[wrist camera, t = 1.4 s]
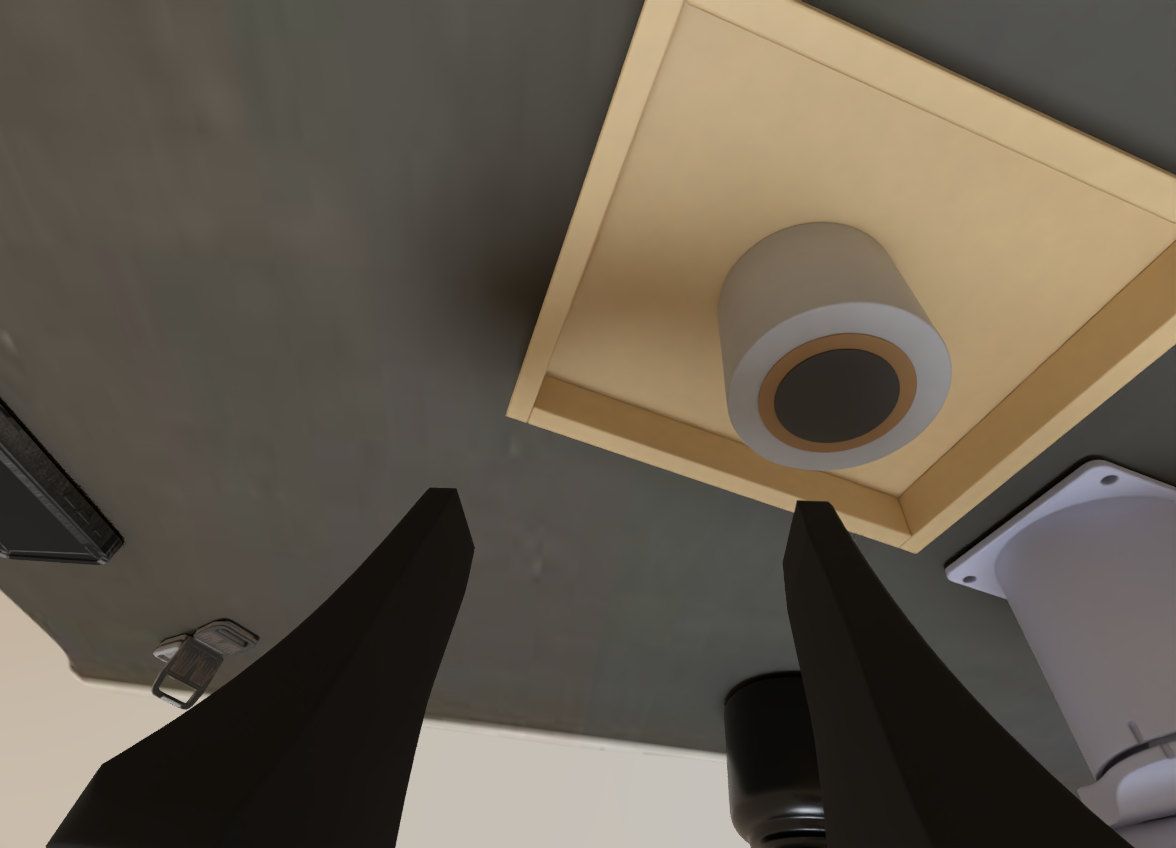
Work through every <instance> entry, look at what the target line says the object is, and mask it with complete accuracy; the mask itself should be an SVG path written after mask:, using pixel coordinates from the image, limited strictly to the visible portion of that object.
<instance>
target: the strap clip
mask: <svg viewBox="0 0 1176 848" xmlns="http://www.w3.org/2000/svg"><path fill="white" fill-rule="evenodd" d="M234 634H235V635H234ZM239 637H240V638H239ZM244 640H245V641H244ZM256 644H257V640H256V639H254V638H253V637H251V636H249V635H248V634H246V633H244V632H243V631H241V630H239V629H238V628H236V627H234V626H233V625H231V624H229V623H227V622H222V621H220V622H213V623H210V624H208V625H206V626H204V627H202V628H200V629H198V630H197V631H196V633H195V634H194V638H193V637H191V636H188V635H180V636H177V637H174V638H170V639H167V640H165V641H163V642H162V643H161V644H160V645H159V646H158V647H157V648H156V650H155V651H154V653H153V655H154V656H155V657H157V658H159V659H161V660H163V661H165V662H167V664H166V665H165V666H164V667H163V668H162V670H161V671H160V672H159V674H158V676H157V678H156V680H155V682H154V684H153V686H152V689H151V692H152V694H153V695H154V696H157V697H158V698H160V699H162V700H164V701H166V702H168V703H170V704H172V705H174V706H177V707H178V708H181V709H188V708H190V707H191V706H193V705H194V703H195V702H196V701H197V700H198V699H199V698H200V697H201V695H202V694H203V693H204V691H205V690H206V688H207V686H208V685H209V683H210V681H211V680H212V678H213V676H214V675H215V673H216V672H217V670H218V668H219V667H220V665H221V663H222V662H223V657H222V656H221V655H233V654H237V653H241V652H245V651H248V650H250V649H252V648H254V647H255V646H256ZM166 675H167V676H169V677H171V678H173V679H175V680H177V681H179V682H181V683H183V684H185V685H187V686H189V687H190V688H192V689H194V690H196V691H195V692H194V694H193V695H192V696H191V697H190V699H189V700H188V701H187V702H186V703H184V702H181V701H179V700H177V699H175V698H173V697H171V696H169V695H167V694H165V693H163V692H162V691H160V690H159V686H160V685H161V683H162V681H163V680H164V678H165V676H166Z"/></svg>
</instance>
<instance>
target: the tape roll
mask: <svg viewBox="0 0 1176 848" xmlns="http://www.w3.org/2000/svg"><path fill="white" fill-rule="evenodd" d="M718 324H719V334H720V343H721V353H722V362H723V372H724V381H725V391H726V400H727V408H728V414H729V418H730V421H731V424H732V425H733V427H734V429H735V431H736V433H737V434H738V435H739V437H740V438H741V440H742V441H743V442H744V443H745V444H746V445H747V446H748V447H749V448H750V449H752V450H753V451H754V452H756V453H757V454H759V455H760V456H762V457H764V458H766V459H767V460H770V461H772V462H774V463H777V464H779V465H783V466H786V467H790V468H795V469H800V470H810V471H831V470H841V469H847V468H852V467H857V466H860V465H864V464H867V463H870V462H873V461H876V460H878V459H881V458H883V457H885V456H887V455H889V454H892V453H893V452H895V451H897V450H899V449H900V448H902V447H904V446H905V445H907V444H908V443H909V442H911V441H912V440H913V439H915V438H916V437H917V436H918V435H919V434H921V433H922V432H923V431H924V430H925V429H926V428H927V427H928V426H929V424H930V423H931V422H932V421H933V420H934V418H935V417H936V416H937V414H938V413H939V411H940V410H941V408H942V406H943V404H944V402H945V400H946V398H947V395H948V392H949V389H950V383H951V377H952V364H951V359H950V355H949V351H948V349H947V347H946V344H945V342H944V340H943V339H942V337H941V336H940V334H939V333H938V331H937V330H936V328H935V326H934V325H933V323H932V322H931V320H930V319H929V317H928V315H927V314H926V312H925V311H924V309H923V308H922V306H921V305H920V303H919V301H918V300H917V298H916V297H915V295H914V294H913V292H912V290H911V289H910V287H909V286H908V284H907V283H906V281H905V280H904V278H903V276H902V275H901V273H900V272H899V270H898V269H897V267H896V266H895V264H894V262H893V261H892V259H891V258H890V256H889V255H888V253H887V252H886V250H885V249H884V248H883V247H882V246H881V245H880V244H879V243H878V242H877V241H876V240H875V239H874V238H872V237H871V236H869V235H868V234H866V233H864V232H862V231H860V230H858V229H856V228H853V227H850V226H847V225H842V224H837V223H825V222H819V223H807V224H802V225H797V226H793V227H790V228H787V229H784V230H781V231H779V232H777V233H774V234H772V235H770V236H768V237H767V238H765V239H763V240H762V241H760V242H759V243H757V244H756V245H755V246H753V247H752V248H751V249H749V250H748V251H747V252H746V253H745V254H744V255H743V256H742V257H741V258H740V259H739V260H738V262H737V263H736V264H735V265H734V266H733V268H732V270H731V271H730V273H729V274H728V276H727V278H726V280H725V282H724V284H723V286H722V289H721V292H720V296H719V301H718Z"/></svg>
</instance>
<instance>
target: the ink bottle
mask: <svg viewBox="0 0 1176 848" xmlns="http://www.w3.org/2000/svg"><path fill="white" fill-rule="evenodd" d="M724 721H725V737H726V754H727V770H728V787H729V802H730V814H731V819H732V823H733V825H734V827H735V829H736V831H737V832H738V833H739V835H740V836H741V837H742V838H743V839H744V840H745V841H746V842H748V843H749V844H750V846H751V848H827V840H826V830H825V821H824V812H823V803H822V794H821V786H820V778H819V769H818V761H817V753H816V745H815V738H814V732H813V727H812V721H811V716H810V711H809V707H808V702H807V697H806V693H805V688H804V684H803V679H802V677H776V678H769V679H764V680H760V681H757V682H754V683H752V684H749V685H747V686H745V687H743V688H742V689H740V690H739V691H737V692H736V693H735V694H734V695H733V696H732V697H731V698H730V699H729V700H728V702H727V704H726V706H725V711H724Z"/></svg>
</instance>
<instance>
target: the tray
mask: <svg viewBox="0 0 1176 848" xmlns="http://www.w3.org/2000/svg"><path fill="white" fill-rule="evenodd" d="M819 222H825V223H837V224H842V225H847V226H850V227H853V228H856V229H858V230H860V231H862V232H864V233H866V234H868V235H869V236H871V237H872V238H874V239H875V240H876V241H877V242H878V243H879V244H880V245H881V246H882V247H883V248H884V249H885V250H886V252H887V253H888V255H889V256H890V258H891V259H892V261H893V262H894V264H895V266H896V267H897V269H898V270H899V272H900V273H901V275H902V276H903V278H904V280H905V281H906V283H907V284H908V286H909V287H910V289H911V290H912V292H913V294H914V295H915V297H916V298H917V300H918V301H919V303H920V305H921V306H922V308H923V309H924V311H925V312H926V314H927V315H928V317H929V319H930V320H931V322H932V323H933V325H934V326H935V328H936V330H937V331H938V333H939V334H940V336H941V337H942V339H943V340H944V342H945V344H946V347H947V349H948V351H949V355H950V359H951V364H952V377H951V383H950V389H949V392H948V395H947V398H946V400H945V402H944V404H943V406H942V408H941V410H940V411H939V413H938V414H937V416H936V417H935V418H934V420H933V421H932V422H931V423H930V424H929V426H928V427H927V428H926V429H925V430H924V431H923V432H922V433H921V434H919V435H918V436H917V437H916V438H915V439H913V440H912V441H911V442H909V443H908V444H907V445H905V446H904V447H902V448H900V449H899V450H897V451H895V452H893V453H892V454H889V455H887V456H885V457H883V458H881V459H878V460H876V461H873V462H870V463H867V464H864V465H860V466H857V467H852V468H847V469H841V470H831V471H810V470H800V469H795V468H790V467H786V466H783V465H779V464H777V463H774V462H772V461H770V460H767V459H766V458H764V457H762V456H760V455H759V454H757V453H756V452H754V451H753V450H752V449H750V448H749V447H748V446H747V445H746V444H745V443H744V442H743V441H742V440H741V438H740V437H739V435H738V434H737V433H736V431H735V429H734V427H733V425H732V424H731V421H730V418H729V414H728V408H727V400H726V391H725V381H724V372H723V362H722V353H721V343H720V334H719V324H718V301H719V296H720V292H721V289H722V286H723V284H724V282H725V280H726V278H727V276H728V274H729V273H730V271H731V270H732V268H733V266H734V265H735V264H736V263H737V262H738V260H739V259H740V258H741V257H742V256H743V255H744V254H745V253H746V252H747V251H748V250H749V249H751V248H752V247H753V246H755V245H756V244H757V243H759V242H760V241H762V240H763V239H765V238H767V237H768V236H770V235H772V234H774V233H777V232H779V231H781V230H784V229H787V228H790V227H793V226H797V225H802V224H807V223H819ZM1175 344H1176V175H1175V174H1173V173H1170V172H1168V171H1166V170H1164V169H1162V168H1160V167H1158V166H1155V165H1153V164H1151V163H1149V162H1147V161H1145V160H1142V159H1140V158H1138V157H1136V156H1134V155H1132V154H1130V153H1127V152H1125V151H1123V150H1121V149H1119V148H1117V147H1115V146H1112V145H1110V144H1108V143H1106V142H1104V141H1102V140H1099V139H1097V138H1095V137H1093V136H1091V135H1089V134H1087V133H1084V132H1082V131H1080V130H1078V129H1076V128H1074V127H1072V126H1069V125H1067V124H1065V123H1063V122H1061V121H1059V120H1057V119H1054V118H1052V117H1050V116H1048V115H1046V114H1044V113H1041V112H1039V111H1037V110H1035V109H1033V108H1031V107H1029V106H1026V105H1024V104H1022V103H1020V102H1018V101H1016V100H1014V99H1011V98H1009V97H1007V96H1005V95H1003V94H1001V93H999V92H996V91H994V90H992V89H990V88H988V87H986V86H983V85H981V84H979V83H977V82H975V81H973V80H971V79H968V78H966V77H964V76H962V75H960V74H958V73H956V72H953V71H951V70H949V69H947V68H945V67H943V66H941V65H938V64H936V63H934V62H932V61H930V60H928V59H925V58H923V57H921V56H919V55H917V54H915V53H913V52H910V51H908V50H906V49H904V48H902V47H900V46H898V45H895V44H893V43H891V42H889V41H887V40H885V39H883V38H880V37H878V36H876V35H874V34H872V33H870V32H867V31H865V30H863V29H861V28H859V27H857V26H855V25H852V24H850V23H848V22H846V21H844V20H842V19H840V18H837V17H835V16H833V15H831V14H829V13H827V12H825V11H822V10H820V9H818V8H816V7H814V6H812V5H809V4H807V3H805V2H803V1H801V0H645V2H644V5H643V8H642V11H641V14H640V17H639V20H638V23H637V26H636V29H635V32H634V35H633V38H632V41H631V44H630V47H629V50H628V53H627V56H626V59H625V61H624V64H623V67H622V70H621V73H620V76H619V79H618V82H617V85H616V88H615V91H614V94H613V97H612V100H611V103H610V106H609V109H608V112H607V115H606V118H605V121H604V124H603V127H602V130H601V133H600V136H599V139H598V142H597V145H596V148H595V151H594V154H593V157H592V160H591V163H590V166H589V168H588V171H587V174H586V177H585V180H584V183H583V186H582V189H581V192H580V195H579V198H578V201H577V204H576V207H575V210H574V213H573V216H572V219H571V222H570V225H569V228H568V231H567V234H566V237H565V240H564V243H563V246H562V249H561V252H560V255H559V258H558V261H557V264H556V267H555V270H554V272H553V275H552V278H551V281H550V284H549V287H548V290H547V293H546V296H545V299H544V302H543V305H542V308H541V311H540V314H539V317H538V320H537V323H536V326H535V329H534V332H533V335H532V338H531V341H530V344H529V347H528V350H527V353H526V356H525V359H524V362H523V365H522V368H521V371H520V374H519V377H518V379H517V382H516V385H515V388H514V391H513V394H512V397H511V400H510V403H509V406H508V409H507V412H506V416H508V417H511V418H514V419H517V420H520V421H523V422H527V421H528V423H529V424H532V425H535V426H538V427H541V428H544V429H547V430H550V431H553V432H556V433H559V434H562V435H565V436H567V437H570V438H573V439H576V440H579V441H582V442H585V443H588V444H591V445H594V446H597V447H600V448H603V449H606V450H609V451H612V452H615V453H618V454H621V455H624V456H627V457H630V458H633V459H636V460H639V461H642V462H645V463H648V464H651V465H654V466H657V467H660V468H663V469H666V470H669V471H672V472H675V473H678V474H680V475H683V476H686V477H689V478H692V479H695V480H698V481H701V482H704V483H707V484H710V485H713V486H716V487H719V488H722V489H725V490H728V491H731V492H734V493H737V494H740V495H743V496H746V497H749V498H752V499H755V500H758V501H761V502H764V503H767V504H770V505H773V506H776V507H779V508H782V509H785V510H788V511H790V512H793V513H794V511H795V507H796V502H797V500H802V501H828V502H829V503H831V504H832V505H833V507H834V509H835V510H836V512H837V514H838V516H839V517H840V519H841V521H842V522H843V524H844V526H845V528H846V529H847V531H850V532H853V533H856V534H859V535H862V536H865V537H868V538H871V539H874V540H877V541H880V542H883V543H886V544H889V545H892V546H895V547H899V548H900V549H903V550H906V551H909V552H912V553H915V554H917V553H918V552H919V551H921V550H922V549H923V548H924V547H926V546H927V545H928V544H929V543H930V542H932V541H933V540H934V539H935V538H937V537H938V536H939V535H940V534H942V533H943V532H944V531H945V530H947V529H948V528H949V527H950V526H951V525H953V524H954V523H955V522H956V521H958V520H959V519H960V518H961V517H963V516H964V515H965V514H966V513H968V512H969V511H970V510H971V509H972V508H974V507H975V506H976V505H977V504H979V503H980V502H981V501H982V500H984V499H985V498H986V497H987V496H988V495H990V494H991V493H992V492H993V491H995V490H996V489H997V488H998V487H1000V486H1001V485H1002V484H1003V483H1005V482H1006V481H1007V480H1008V479H1009V478H1011V477H1012V476H1013V475H1014V474H1016V473H1017V472H1018V471H1019V470H1021V469H1022V468H1023V467H1024V466H1026V465H1027V464H1028V463H1029V462H1030V461H1032V460H1033V459H1034V458H1035V457H1037V456H1038V455H1039V454H1040V453H1042V452H1043V451H1044V450H1045V449H1047V448H1048V447H1049V446H1050V445H1051V444H1053V443H1054V442H1055V441H1056V440H1058V439H1059V438H1060V437H1061V436H1063V435H1064V434H1065V433H1066V432H1068V431H1069V430H1070V429H1071V428H1072V427H1074V426H1075V425H1076V424H1077V423H1079V422H1080V421H1081V420H1082V419H1084V418H1085V417H1086V416H1087V415H1088V414H1090V413H1091V412H1092V411H1093V410H1095V409H1096V408H1097V407H1098V406H1100V405H1101V404H1102V403H1103V402H1105V401H1106V400H1107V399H1108V398H1109V397H1111V396H1112V395H1113V394H1114V393H1116V392H1117V391H1118V390H1119V389H1121V388H1122V387H1123V386H1124V385H1126V384H1127V383H1128V382H1129V381H1130V380H1132V379H1133V378H1134V377H1135V376H1137V375H1138V374H1139V373H1140V372H1142V371H1143V370H1144V369H1145V368H1147V367H1148V366H1149V365H1150V364H1151V363H1153V362H1154V361H1155V360H1156V359H1158V358H1159V357H1160V356H1161V355H1163V354H1164V353H1165V352H1166V351H1167V350H1169V349H1170V348H1171V347H1172V346H1174V345H1175Z"/></svg>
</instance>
